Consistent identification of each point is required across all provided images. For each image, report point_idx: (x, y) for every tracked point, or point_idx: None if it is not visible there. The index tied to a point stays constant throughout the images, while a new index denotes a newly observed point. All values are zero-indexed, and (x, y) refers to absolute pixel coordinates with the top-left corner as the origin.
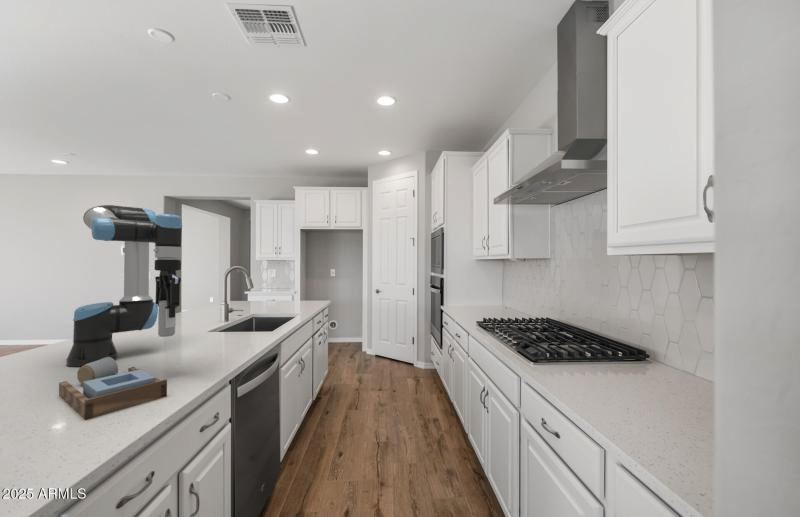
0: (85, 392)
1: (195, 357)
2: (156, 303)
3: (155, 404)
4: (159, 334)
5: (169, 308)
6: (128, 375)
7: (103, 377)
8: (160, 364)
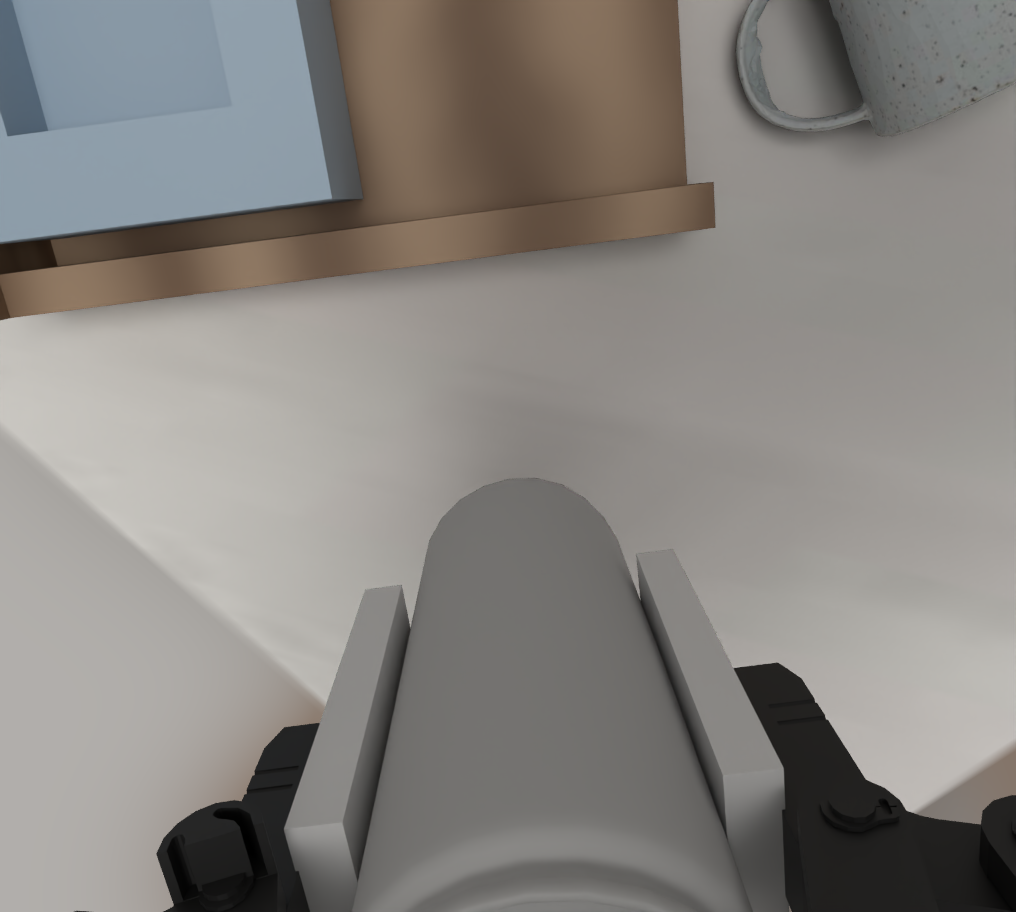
0: None
1: (972, 723)
2: (1011, 820)
3: None
4: (493, 487)
5: (281, 873)
6: (232, 90)
7: None
8: (1008, 485)
